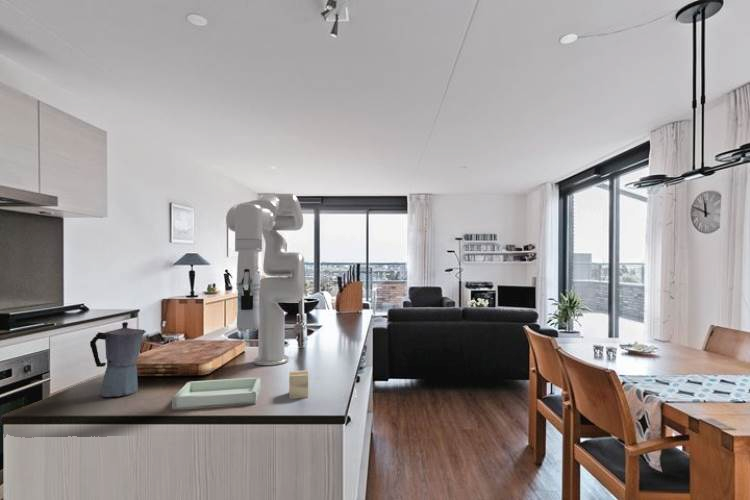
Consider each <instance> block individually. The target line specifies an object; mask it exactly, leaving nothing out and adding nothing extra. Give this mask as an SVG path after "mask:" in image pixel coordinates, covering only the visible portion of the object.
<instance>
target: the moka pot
mask: <svg viewBox="0 0 750 500" xmlns="http://www.w3.org/2000/svg"><path fill="white" fill-rule="evenodd" d="M128 325H129V322H127V321H126V322H125V321H124V322H121V326H122V327H121V328H117V329H113V330H110V331H109V330H108V331H105V332H100V331H99V332H97V333H96V334H95V336H94V337H93V338H92V339H91V340H90V341H89V346H90V348H91V352H92V356H93V360H94V363H95V365H96V367H97V368H99V367H101V368H102V367H106V368H105V371H104V376H103V380H102V385H101V387H100V392H99V395H100V396H102V397H103V398H113V397H114V398H116V397H117V398H118V397H123V396H128V395H132V394H135V393H137V392H138V390H139V385H138V383H139V382H138V381H139V380H138V369H137V368H138V365H137V362H138V358H139V356H140V351H141V347H142V346H141V345H142V341H143V337H144V335H145V333H147V331H146V329H139V328H137V329H136V328H130V327H128ZM98 340H103V341H105V345H104V346H105V359H106V362H101V360H100V357H99V353H98V347H97V346H98V345H97V344H96V343H97V341H98Z"/></svg>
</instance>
